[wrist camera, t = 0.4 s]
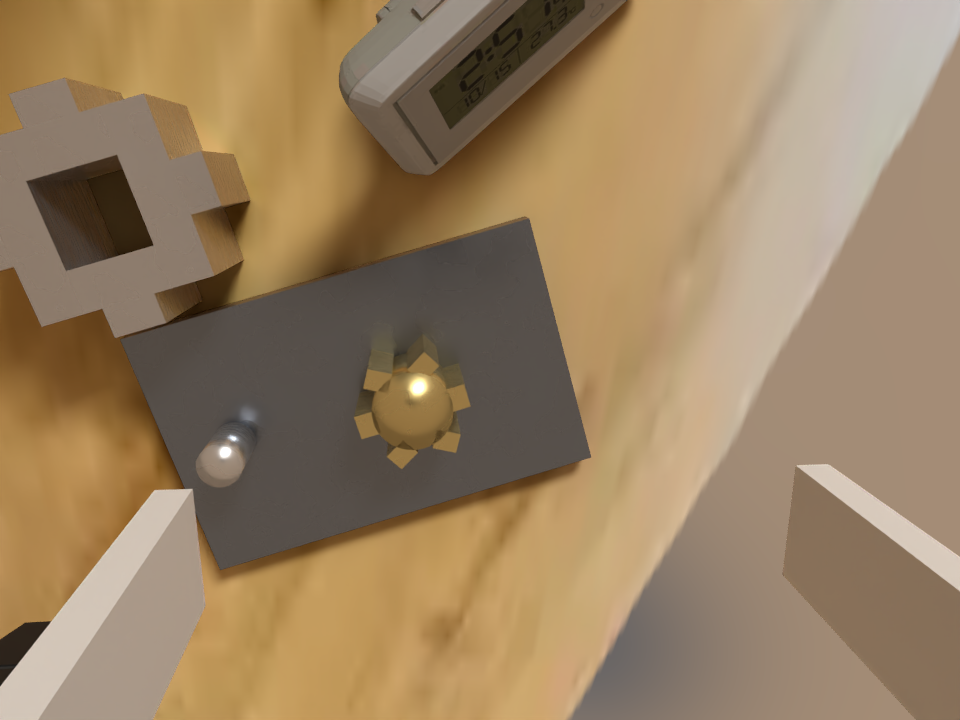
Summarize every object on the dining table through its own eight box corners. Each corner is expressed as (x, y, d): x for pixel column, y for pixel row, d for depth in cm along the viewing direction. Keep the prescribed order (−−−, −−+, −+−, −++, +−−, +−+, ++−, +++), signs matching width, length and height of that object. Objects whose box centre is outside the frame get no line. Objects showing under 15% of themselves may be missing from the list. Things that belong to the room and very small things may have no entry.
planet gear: (-10, 130, 36) (-91, 122, 30) (202, 69, 36) (163, 49, 30) (82, 335, 38) (24, 364, 33) (278, 277, 39) (255, 296, 33)
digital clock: (402, 190, 38) (399, 197, 28) (308, 27, 36) (268, -30, 26) (672, 33, 38) (771, -19, 27) (595, -144, 35) (671, -274, 25)
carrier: (131, 333, 39) (86, 359, 33) (524, 216, 39) (542, 223, 34) (226, 556, 42) (200, 611, 37) (585, 447, 43) (609, 486, 38)
